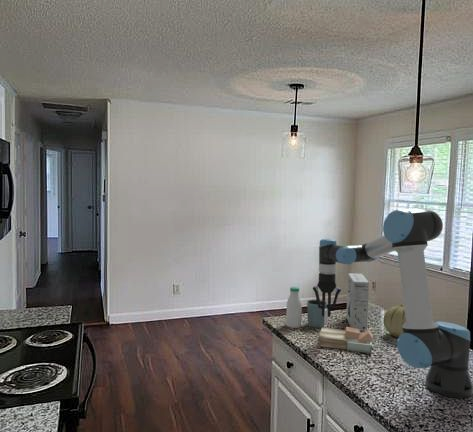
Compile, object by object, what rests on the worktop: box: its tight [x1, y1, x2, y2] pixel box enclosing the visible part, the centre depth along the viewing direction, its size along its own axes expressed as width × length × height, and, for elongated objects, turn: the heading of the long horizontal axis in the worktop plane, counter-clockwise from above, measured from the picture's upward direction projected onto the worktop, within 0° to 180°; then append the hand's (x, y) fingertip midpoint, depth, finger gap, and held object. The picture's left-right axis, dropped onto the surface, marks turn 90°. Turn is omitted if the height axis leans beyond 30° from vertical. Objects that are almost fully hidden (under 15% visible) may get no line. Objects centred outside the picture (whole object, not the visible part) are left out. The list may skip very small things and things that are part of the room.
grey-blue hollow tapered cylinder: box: [306, 299, 328, 328], centre depth 217 cm, size 10×10×12 cm
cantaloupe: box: [382, 304, 406, 338], centre depth 202 cm, size 15×15×15 cm
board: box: [318, 327, 348, 350], centre depth 192 cm, size 14×12×4 cm
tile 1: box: [345, 326, 361, 340], centre depth 190 cm, size 6×6×3 cm
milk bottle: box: [285, 286, 303, 329], centre depth 214 cm, size 8×8×20 cm
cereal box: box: [345, 272, 370, 332], centre depth 219 cm, size 22×8×25 cm, turn 172°
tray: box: [346, 331, 373, 354], centre depth 189 cm, size 16×10×4 cm, turn 164°
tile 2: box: [358, 328, 374, 344], centre depth 189 cm, size 6×6×3 cm
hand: (326, 323), depth 193 cm, fingers closed
